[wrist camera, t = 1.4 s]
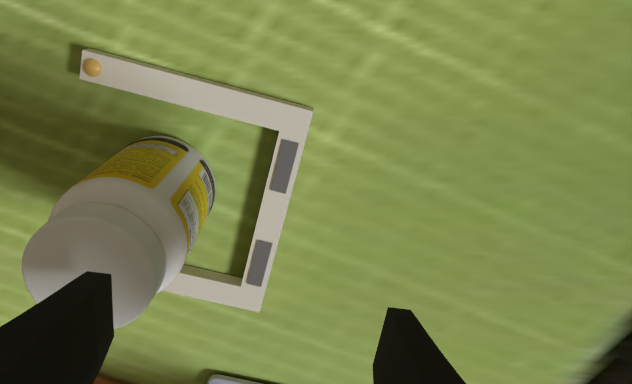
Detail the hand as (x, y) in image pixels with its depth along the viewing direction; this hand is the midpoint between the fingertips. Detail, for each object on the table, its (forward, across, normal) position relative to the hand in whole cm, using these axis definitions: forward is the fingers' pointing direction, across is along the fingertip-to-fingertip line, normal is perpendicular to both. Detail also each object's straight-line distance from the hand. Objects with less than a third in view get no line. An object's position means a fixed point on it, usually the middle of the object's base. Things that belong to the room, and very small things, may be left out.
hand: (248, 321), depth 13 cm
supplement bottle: (+11, +5, +2) cm, 12 cm away
